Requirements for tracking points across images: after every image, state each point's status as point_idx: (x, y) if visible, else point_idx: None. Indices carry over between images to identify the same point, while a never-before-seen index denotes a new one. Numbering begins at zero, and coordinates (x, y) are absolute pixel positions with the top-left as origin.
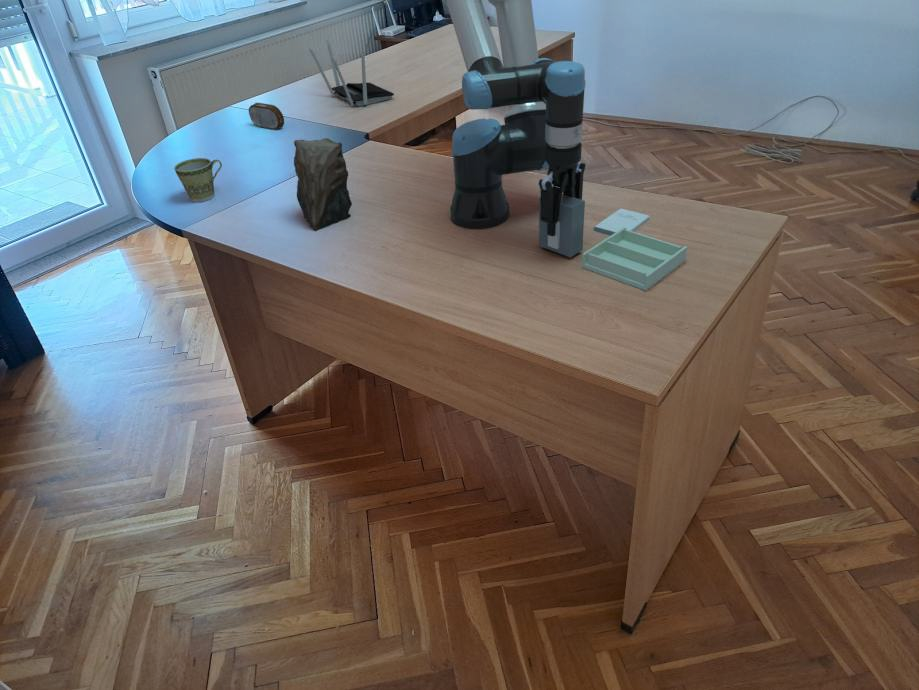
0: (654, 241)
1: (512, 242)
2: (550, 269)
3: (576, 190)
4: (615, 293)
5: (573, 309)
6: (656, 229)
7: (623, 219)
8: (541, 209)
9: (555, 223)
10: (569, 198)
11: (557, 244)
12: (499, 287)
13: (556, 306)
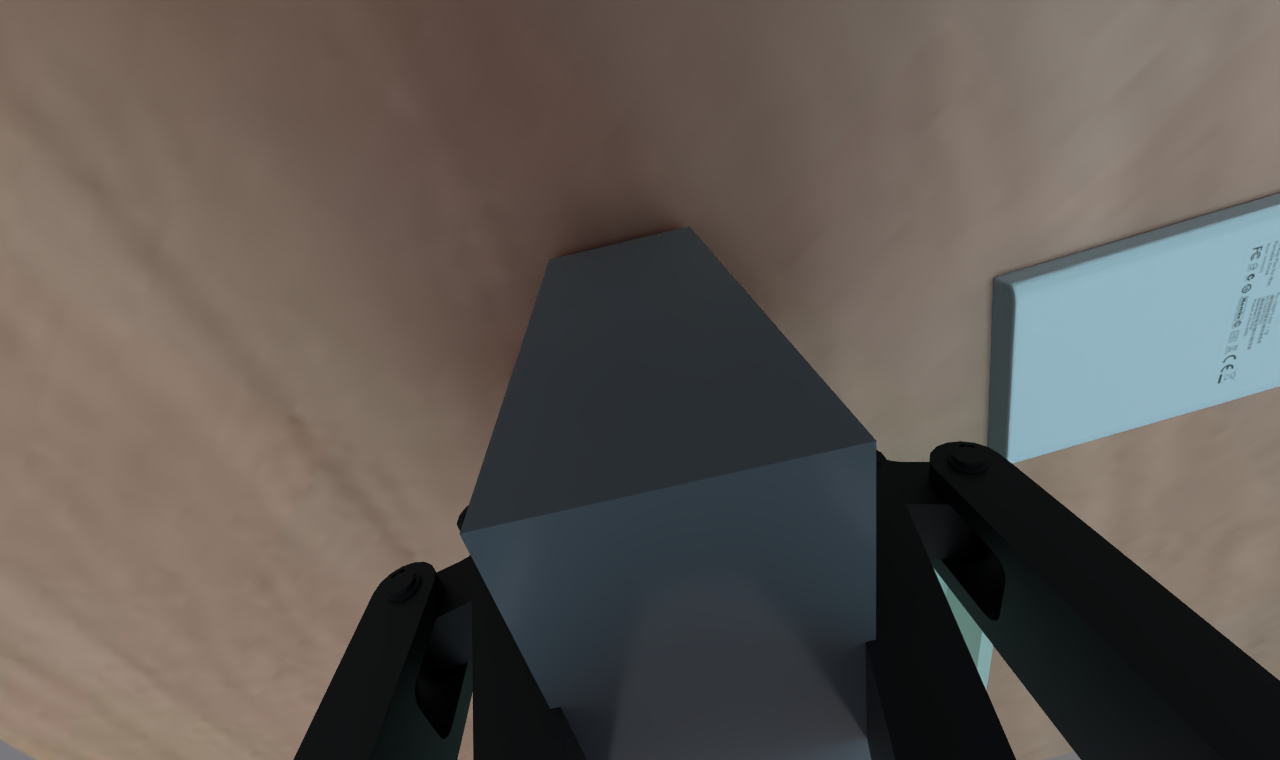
0: (971, 655)
1: (436, 7)
2: (468, 480)
3: (1068, 699)
4: None
5: None
6: (1167, 469)
7: (1198, 329)
8: (316, 742)
9: None
10: (809, 750)
11: None
12: (106, 476)
13: (326, 690)
